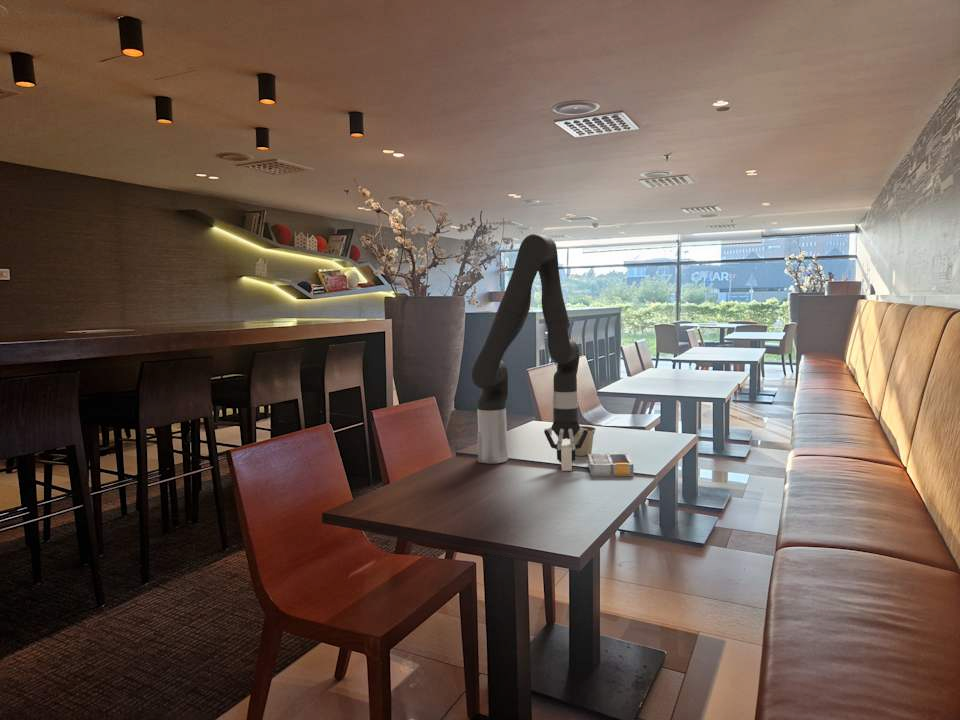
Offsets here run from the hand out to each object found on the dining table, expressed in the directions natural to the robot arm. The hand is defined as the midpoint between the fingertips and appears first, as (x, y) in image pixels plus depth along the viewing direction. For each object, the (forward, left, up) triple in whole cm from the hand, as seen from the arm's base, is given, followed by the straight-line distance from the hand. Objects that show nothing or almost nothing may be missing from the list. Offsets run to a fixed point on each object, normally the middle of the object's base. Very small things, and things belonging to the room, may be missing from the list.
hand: (566, 461), depth 191 cm
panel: (0, 0, -2) cm, 2 cm away
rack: (+13, -3, -2) cm, 13 cm away
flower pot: (+6, +17, -2) cm, 18 cm away
